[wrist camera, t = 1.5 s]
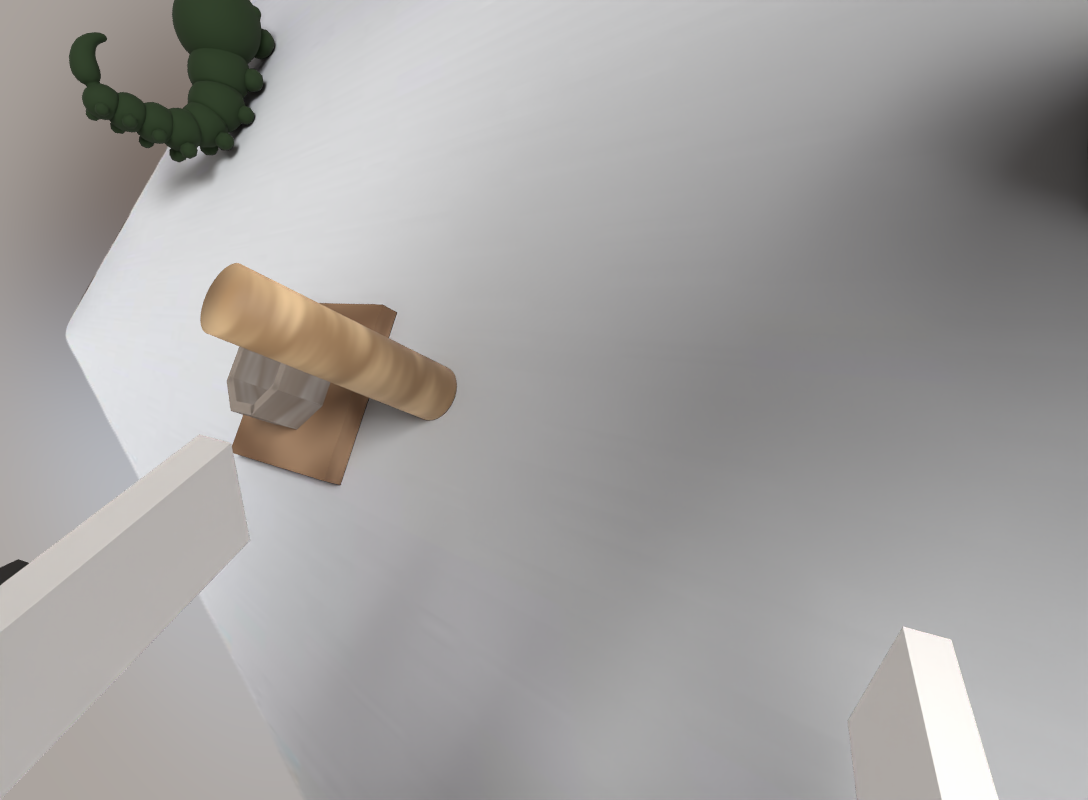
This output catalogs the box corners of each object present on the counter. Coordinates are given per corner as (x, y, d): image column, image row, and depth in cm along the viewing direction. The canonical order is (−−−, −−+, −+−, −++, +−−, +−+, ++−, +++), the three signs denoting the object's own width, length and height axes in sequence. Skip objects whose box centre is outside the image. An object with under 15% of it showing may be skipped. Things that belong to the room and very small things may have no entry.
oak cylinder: (424, 364, 48) (218, 264, 36) (463, 368, 46) (255, 262, 33) (408, 416, 48) (191, 332, 35) (446, 423, 45) (228, 335, 33)
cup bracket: (298, 309, 61) (243, 283, 56) (396, 312, 52) (341, 281, 48) (245, 456, 58) (184, 440, 54) (340, 485, 50) (275, 468, 45)
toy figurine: (255, 180, 78) (303, -8, 82) (72, 87, 63) (140, -139, 67) (216, 190, 84) (262, 14, 87) (40, 107, 69) (104, -102, 72)
